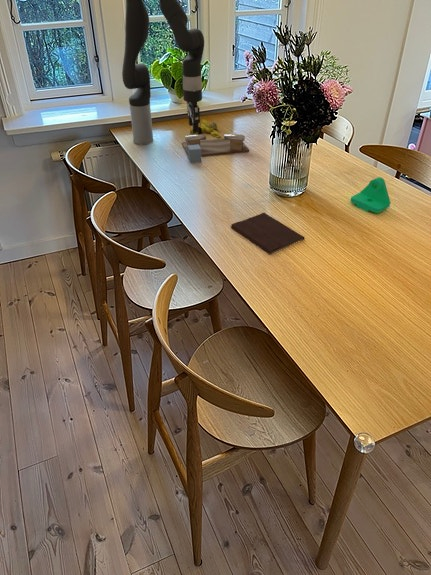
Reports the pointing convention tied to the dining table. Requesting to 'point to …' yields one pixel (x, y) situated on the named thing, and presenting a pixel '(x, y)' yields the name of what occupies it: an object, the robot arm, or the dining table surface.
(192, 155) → the block
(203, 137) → the shaft
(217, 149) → the base board
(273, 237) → the notebook
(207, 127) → the sprinkler
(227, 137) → the shaft
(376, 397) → the dining table surface
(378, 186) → the green triangle
